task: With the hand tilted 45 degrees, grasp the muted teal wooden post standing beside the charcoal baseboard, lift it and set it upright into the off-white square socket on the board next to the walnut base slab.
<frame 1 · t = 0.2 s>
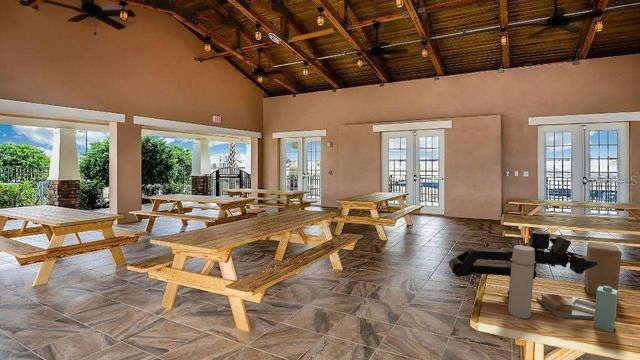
hand: (589, 259, 136), 17 cm above the table, tool horizontal, fingers open, 9 cm apart
baseboard: (574, 309, 129), on the table
wooden block: (599, 293, 145), on the table
water bottle: (518, 314, 126), on the table
teal post: (604, 326, 117), on the table
walnut base slab: (555, 308, 130), resting on baseboard
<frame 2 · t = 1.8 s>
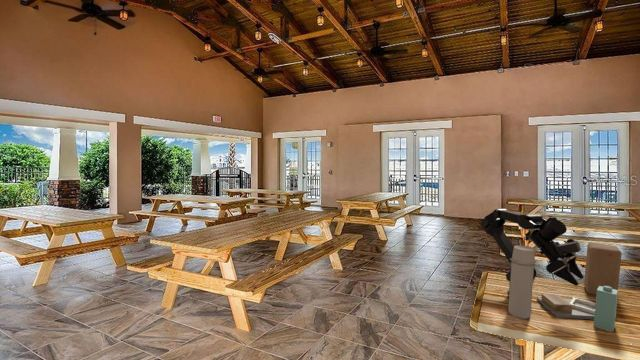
hand: (580, 281, 121), 14 cm above the table, tool tilted 45°, fingers open, 9 cm apart
nothing on the table moved.
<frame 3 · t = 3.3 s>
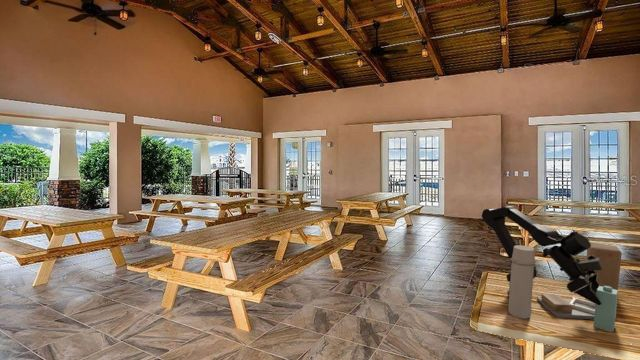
hand: (602, 300, 117), 9 cm above the table, tool tilted 45°, fingers open, 9 cm apart
nothing on the table moved.
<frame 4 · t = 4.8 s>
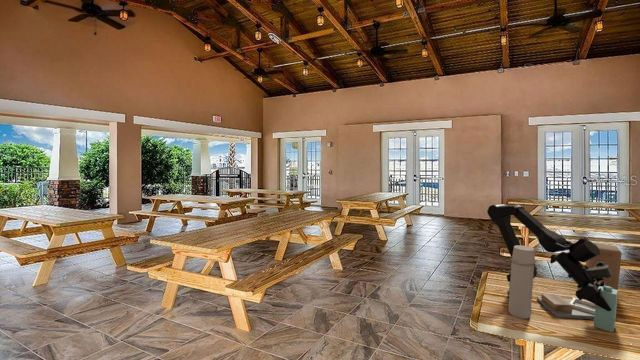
hand: (611, 308, 115), 7 cm above the table, tool tilted 45°, fingers closed on teal post, 5 cm apart
teal post: (604, 326, 117), on the table, touching gripper
everything else where it was.
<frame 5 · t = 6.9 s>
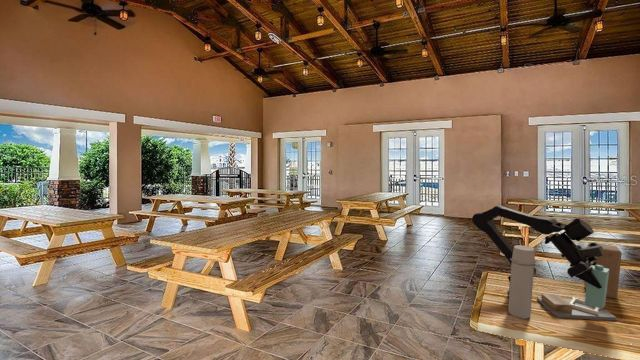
hand: (602, 286, 120), 13 cm above the table, tool tilted 45°, fingers closed on teal post, 5 cm apart
teal post: (594, 303, 122), point 6 cm above the table, touching gripper
everything else where it was.
when the fingers open (9 cm above the table, at t = 9.2 s): teal post stays where it is, resting on baseboard.
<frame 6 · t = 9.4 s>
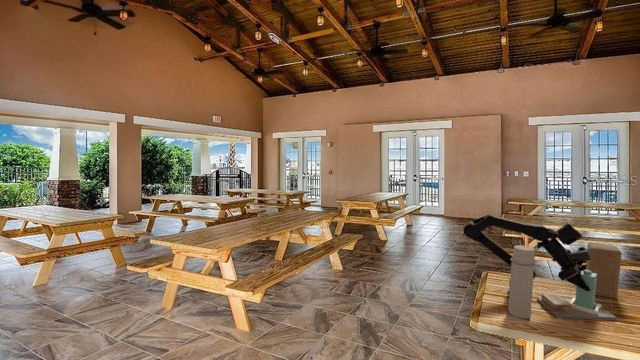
hand: (590, 288, 127), 9 cm above the table, tool tilted 45°, fingers open, 7 cm apart
teal post: (584, 307, 129), point 1 cm above the table, touching baseboard
everything else where it was.
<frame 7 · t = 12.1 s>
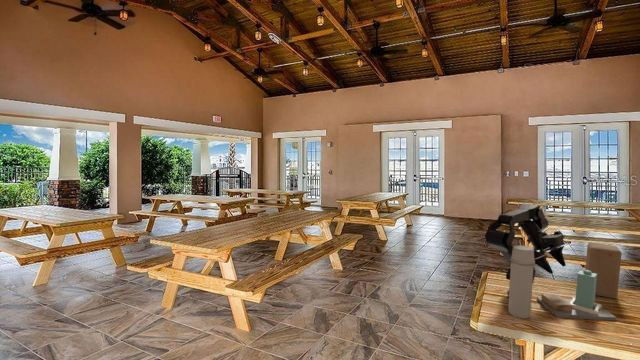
hand: (558, 269, 135), 13 cm above the table, tool tilted 35°, fingers open, 9 cm apart
nothing on the table moved.
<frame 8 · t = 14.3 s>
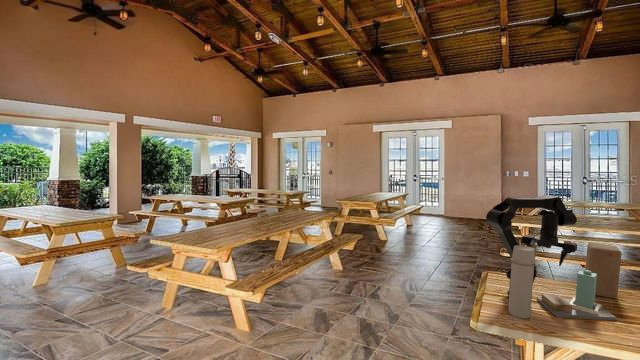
hand: (546, 263, 142), 13 cm above the table, tool pointing down, fingers open, 9 cm apart
nothing on the table moved.
at the end: teal post 0.0 cm from the target spot on the baseboard, point 1.2 cm above the baseboard's base; teal post tilted 0°; the gripper is holding nothing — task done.
